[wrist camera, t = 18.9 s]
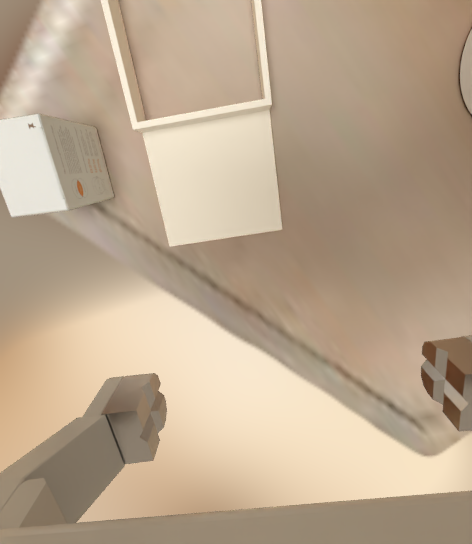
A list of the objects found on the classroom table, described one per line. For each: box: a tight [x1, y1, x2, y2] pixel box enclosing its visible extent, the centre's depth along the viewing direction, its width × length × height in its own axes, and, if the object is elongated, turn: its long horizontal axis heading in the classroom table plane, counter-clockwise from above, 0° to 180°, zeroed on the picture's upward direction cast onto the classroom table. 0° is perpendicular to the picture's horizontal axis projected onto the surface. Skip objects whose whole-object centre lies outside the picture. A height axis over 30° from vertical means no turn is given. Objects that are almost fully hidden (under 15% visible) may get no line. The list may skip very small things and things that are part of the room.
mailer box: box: [101, 0, 282, 246], centre depth 32 cm, size 14×26×4 cm, turn 9°
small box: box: [0, 114, 114, 217], centre depth 30 cm, size 8×6×10 cm
